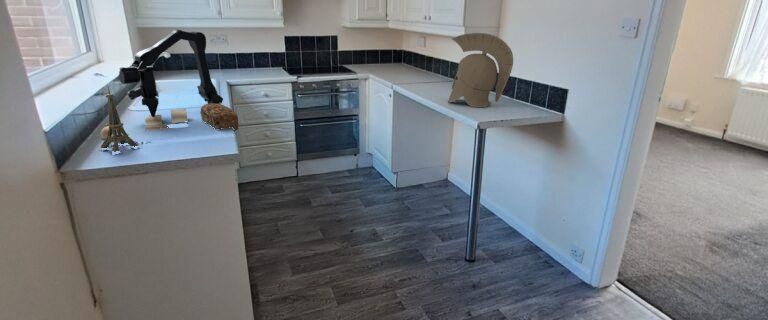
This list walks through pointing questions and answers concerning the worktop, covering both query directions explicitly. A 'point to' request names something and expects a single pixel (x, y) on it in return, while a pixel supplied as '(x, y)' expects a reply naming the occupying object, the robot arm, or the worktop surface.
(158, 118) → the oak plank
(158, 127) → the cardboard box
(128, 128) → the worktop surface
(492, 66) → the helmet
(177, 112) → the oak plank
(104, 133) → the onion
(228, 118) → the bread
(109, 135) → the eiffel tower
